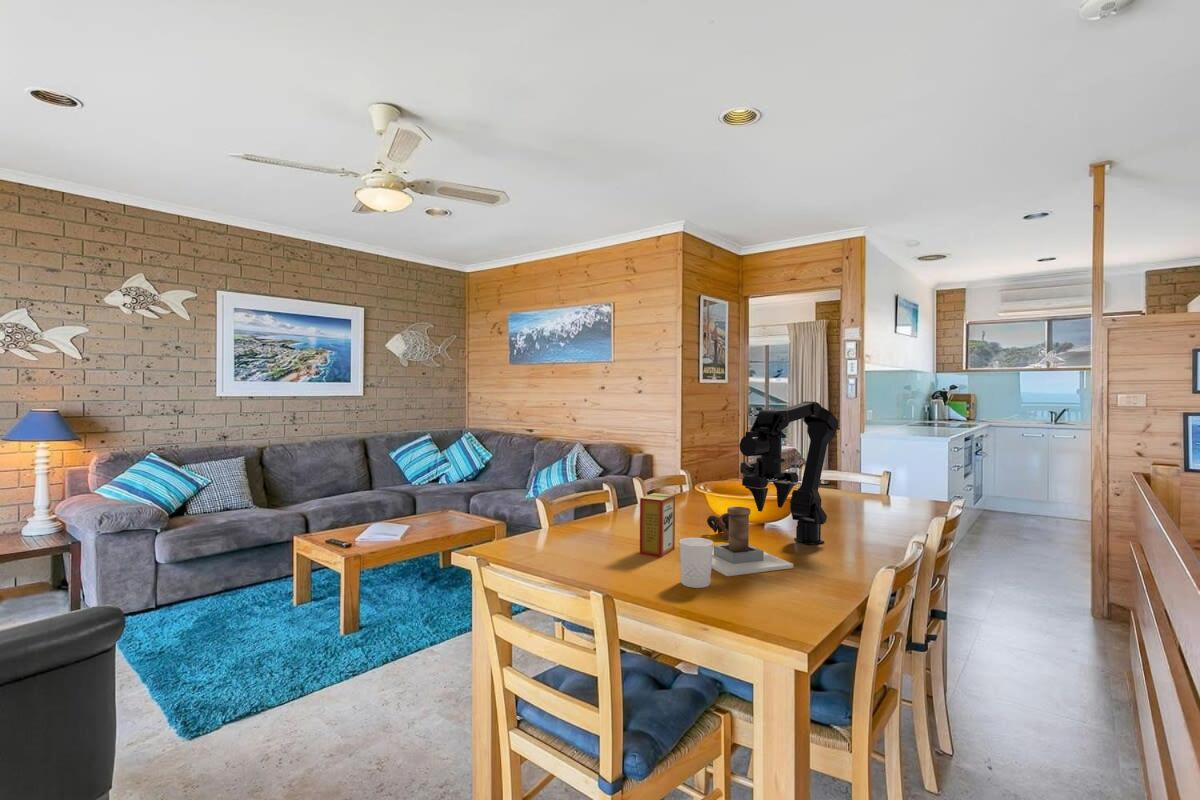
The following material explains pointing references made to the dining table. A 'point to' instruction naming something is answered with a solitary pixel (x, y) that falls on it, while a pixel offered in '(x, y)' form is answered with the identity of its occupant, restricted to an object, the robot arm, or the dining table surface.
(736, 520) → the brown cylinder
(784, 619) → the dining table surface
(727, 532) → the pottery mug
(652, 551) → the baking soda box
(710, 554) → the white cup
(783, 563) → the square socket base
